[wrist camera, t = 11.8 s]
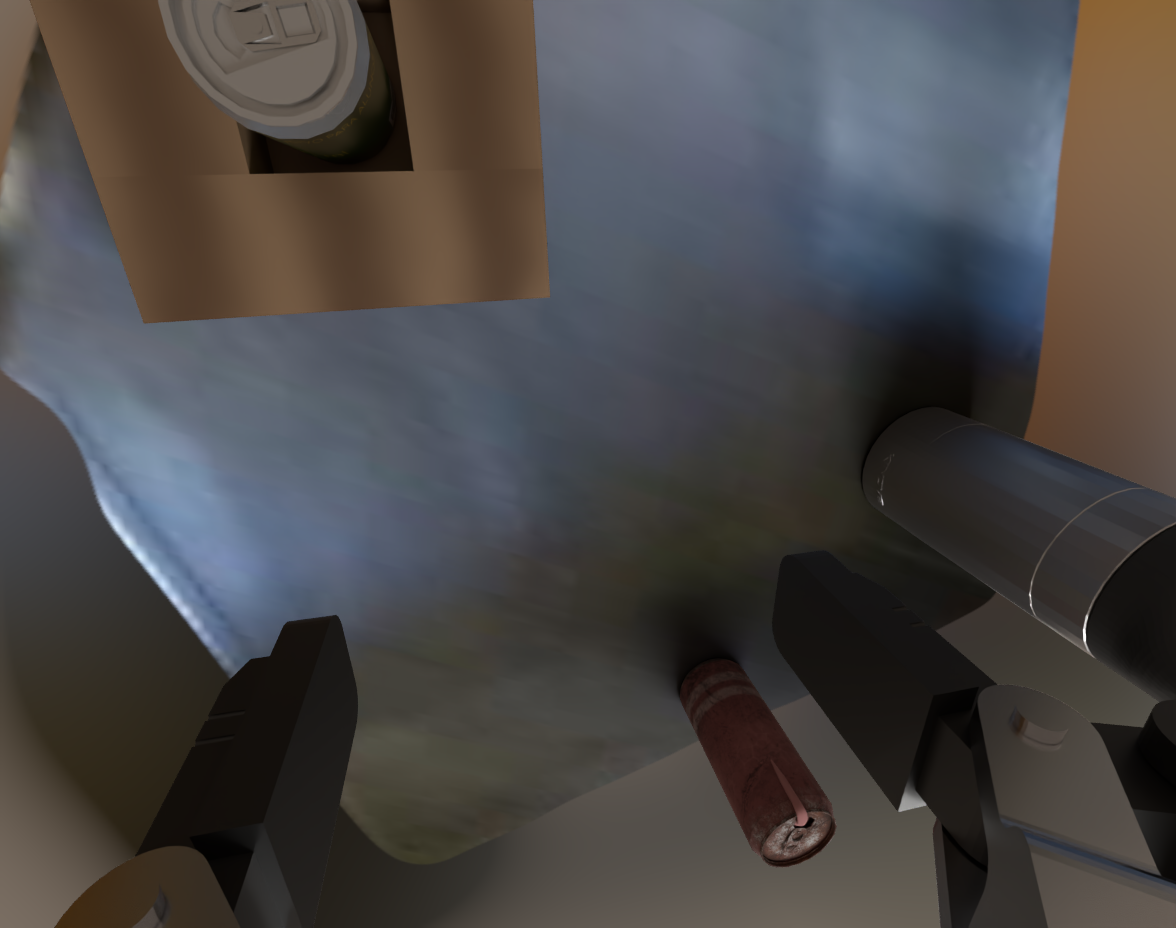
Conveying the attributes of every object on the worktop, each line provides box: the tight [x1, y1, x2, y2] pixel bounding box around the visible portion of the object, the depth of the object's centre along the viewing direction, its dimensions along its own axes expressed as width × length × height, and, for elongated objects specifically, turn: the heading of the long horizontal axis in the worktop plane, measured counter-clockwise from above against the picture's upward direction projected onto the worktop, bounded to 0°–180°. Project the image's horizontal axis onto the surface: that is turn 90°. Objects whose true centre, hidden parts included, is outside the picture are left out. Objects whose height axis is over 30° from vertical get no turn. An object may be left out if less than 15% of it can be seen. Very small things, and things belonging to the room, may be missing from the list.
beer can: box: [158, 0, 397, 164], centre depth 21 cm, size 5×5×12 cm
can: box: [680, 658, 837, 867], centre depth 43 cm, size 6×6×14 cm
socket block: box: [30, 0, 550, 323], centre depth 25 cm, size 18×18×5 cm
